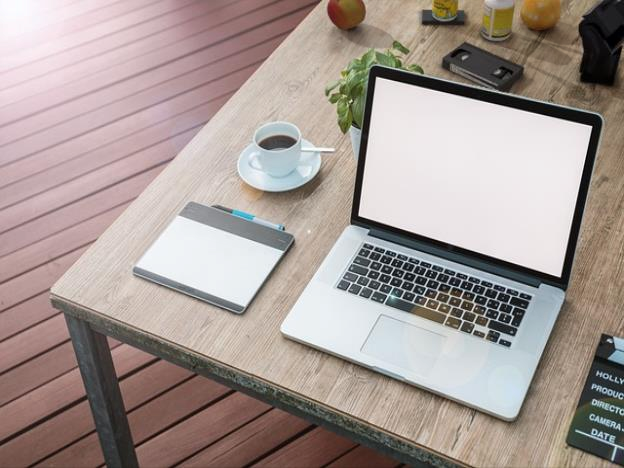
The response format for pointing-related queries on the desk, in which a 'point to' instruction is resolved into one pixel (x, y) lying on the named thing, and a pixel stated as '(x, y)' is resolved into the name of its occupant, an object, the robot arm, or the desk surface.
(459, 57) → the vhs tape
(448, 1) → the supplement bottle
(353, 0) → the apple
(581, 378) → the desk surface
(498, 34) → the pill bottle
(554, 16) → the fruit
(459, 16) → the scrub mat
